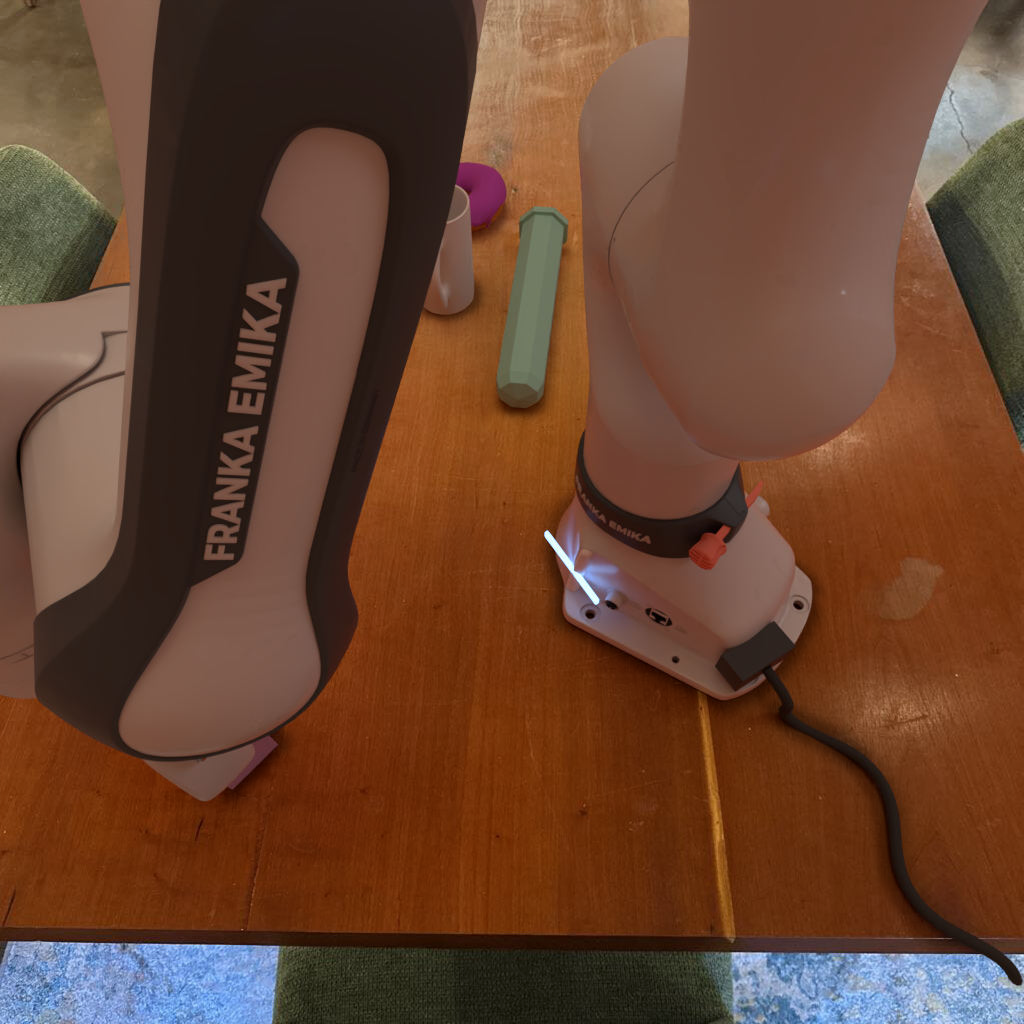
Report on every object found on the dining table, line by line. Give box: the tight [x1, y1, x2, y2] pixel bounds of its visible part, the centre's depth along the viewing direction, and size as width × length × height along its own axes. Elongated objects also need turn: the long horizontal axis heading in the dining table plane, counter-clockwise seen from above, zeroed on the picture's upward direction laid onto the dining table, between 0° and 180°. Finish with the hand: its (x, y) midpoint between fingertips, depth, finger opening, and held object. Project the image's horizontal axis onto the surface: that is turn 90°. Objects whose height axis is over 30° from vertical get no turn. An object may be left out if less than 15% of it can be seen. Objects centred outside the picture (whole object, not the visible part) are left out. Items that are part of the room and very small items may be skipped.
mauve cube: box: [226, 735, 279, 791], centre depth 58 cm, size 4×4×4 cm
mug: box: [423, 185, 475, 316], centre depth 79 cm, size 10×7×12 cm, turn 179°
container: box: [495, 205, 569, 409], centre depth 80 cm, size 6×6×25 cm
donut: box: [456, 161, 508, 233], centre depth 90 cm, size 10×10×5 cm
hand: (159, 691), depth 47 cm, fingers open, 8 cm apart
